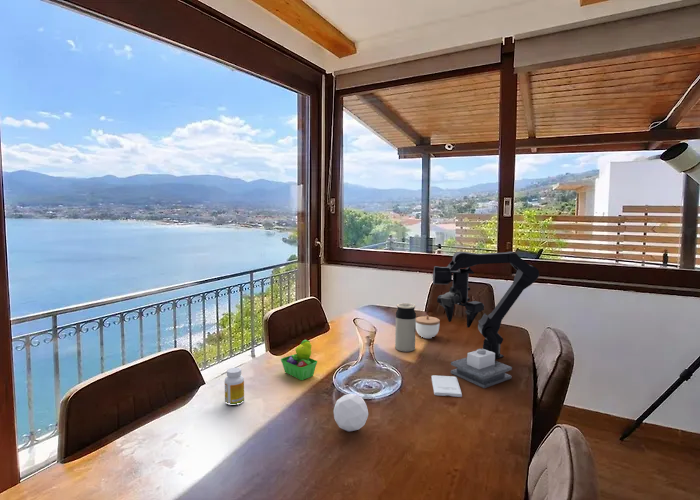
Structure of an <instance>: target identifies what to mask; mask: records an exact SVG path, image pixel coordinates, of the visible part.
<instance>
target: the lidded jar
mask: <svg viewBox="0 0 700 500" xmlns="http://www.w3.org/2000/svg"><path fill="white" fill-rule="evenodd" d="M440 321H441V319H439V318H437V317H434V316H429V315H425V316H423V315H422V316H418V317H417V316H416V330H415V332H417V334H418V336H419V337H420V336H421V337H420V338H422V337H423V338H422V339H433V338H432V337H435V336H437V335H438V333H439V330H440Z"/></svg>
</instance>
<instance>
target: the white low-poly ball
mask: <svg viewBox="0 0 700 500" xmlns="http://www.w3.org/2000/svg"><path fill="white" fill-rule="evenodd" d="M368 417H369V410H368V406H367V403H366V402H365V400H364V399H363V397H362V396H359V395H356V394H354V393H350V394H348V393H347V394H344V395H342V396H341V397H339V398H338V399H337V400H336V402H335V405H334V408H333V418H334V420H335V423H336V425H337V426H338V428H340V429H342V430H344V431H346V432H353V431H357V430H358V431H359V430H360V429H361V428H363V427H364V426H365V424H366V422H367V419H368Z"/></svg>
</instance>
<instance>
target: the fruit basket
mask: <svg viewBox="0 0 700 500" xmlns="http://www.w3.org/2000/svg"><path fill="white" fill-rule="evenodd" d="M294 351H295V352H296V353H295V354H291V355H287V356H285V357H282V358H281V359H280V361H281V364H282V367H283V371H284V373H285V372H286V373H288V374H287V375H289V374H290V375H289V376H291V375H292V376H291V377H294V378H295V377H296V378H295V379H298V380H299V381H304V380H306V379H308V378H311V377H314V374H315V369H316V367H317V364H318V360H315V359H313V358H311V356H312V344H311V341H310V340H307V339H304V340H302V341H301V343H300V344H299V345H297V347H296V348H295V350H294ZM286 373H285V374H286Z"/></svg>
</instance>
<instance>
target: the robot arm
mask: <svg viewBox="0 0 700 500" xmlns="http://www.w3.org/2000/svg"><path fill="white" fill-rule="evenodd" d="M487 264H488V265H489V264H510V266H512V267H513V269H515V270H516V273H515V275H514V278H513V281H512V283H511V285H509V286H510V287H509V288H508V289H507V290H506V292H505V293H504V294H503V296H502V298H500V299H499V302H498V303H497V304H496V306H495V307H494V309H493V310H492V311H491V312H490V313H489V314H487V313H485V312H484V314H483V315H482V317H481V318H480V319H478V320H477V321H478V323H477V330H478V331H479V333H480V334H481V336H482V337H483V338H484V340H483V342H482V343H483V345H482V349H485V350H488V351H491V352H494V353H495V360H497V359H500V358H501V359H502V358H503V357H504V354H501V345H502V343H503V341H504V338H503V336H501V334H500V333H499V331H500V330H501V329H500V328H501V325H502V321H503V319H505V318H504V317H505V316H506V315H507V314H508V312H509V311H510V309H511V308H512V306H513V305H514V304H515V302H516V301H517V300H518V298H519V297H520V296H521V294H522V293H523V292H524V290H525V289H527V288H528V287H530V286H531V285H532V284H534V283H535V282H536V280H538V278H539V277H540V272H539V269H538V268H537V267H536V266H533V265H531V264H529V263H528V262H526V261H525V260H524V259H523V258H522V257H520V256H519V254H518V253H516V252H514V251H506V252H489V253H475V252H468V251H456V252H454V254H453V255H452V260H451V261H450V262H449V264H448V265H447V266H436V265H435V266H433V273H432V284H433V285H449V284H450V283H452V286H450V287H449V291H448V292H445V293H444V294H440V295H438V296H437V299H436V300H437V301H436V302H437V303H438V304H439V306H441V307H442V308H443V309H444V312H445V315H446V317H447V321H448V322H449V323H451V322H452V320H453V316H454V309H455V305H458V306H461V307H464V308H465V310H464V312H465V314H466V328H470V327H471V326H472V323H473V322H474V320H475V318H476V317H477V315H478V314H479V313H481V312H482V311H484V310H485V305H484V303H483V302H481V301H478V300H477V301H476V300H473V301H471V300H470V299H471V298H470V297H468V295H469V291H471V287H469V275H471V274H473V275H474V273H475V271H474V270H472V268H471V267H475V266H478V265H487Z"/></svg>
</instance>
